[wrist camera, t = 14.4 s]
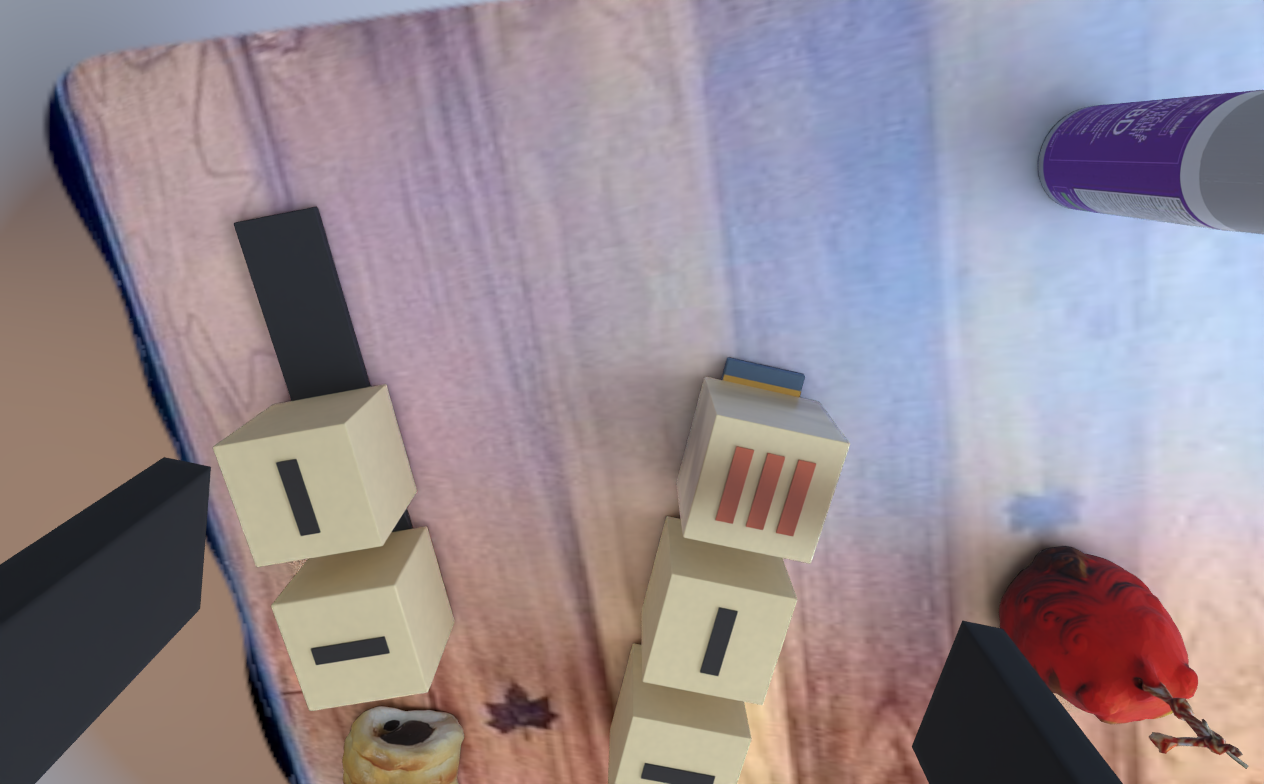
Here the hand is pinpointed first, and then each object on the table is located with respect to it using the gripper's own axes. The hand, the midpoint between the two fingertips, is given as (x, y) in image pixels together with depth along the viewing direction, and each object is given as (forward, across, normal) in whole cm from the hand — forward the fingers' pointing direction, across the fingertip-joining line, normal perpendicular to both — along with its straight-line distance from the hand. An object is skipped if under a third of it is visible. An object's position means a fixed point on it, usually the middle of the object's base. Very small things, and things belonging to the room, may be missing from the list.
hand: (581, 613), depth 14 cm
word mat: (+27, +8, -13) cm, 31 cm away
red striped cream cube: (+26, +8, -5) cm, 28 cm away
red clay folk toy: (+27, +27, -10) cm, 39 cm away
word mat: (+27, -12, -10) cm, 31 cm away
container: (+27, +20, +12) cm, 36 cm away
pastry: (+27, -6, -29) cm, 40 cm away
